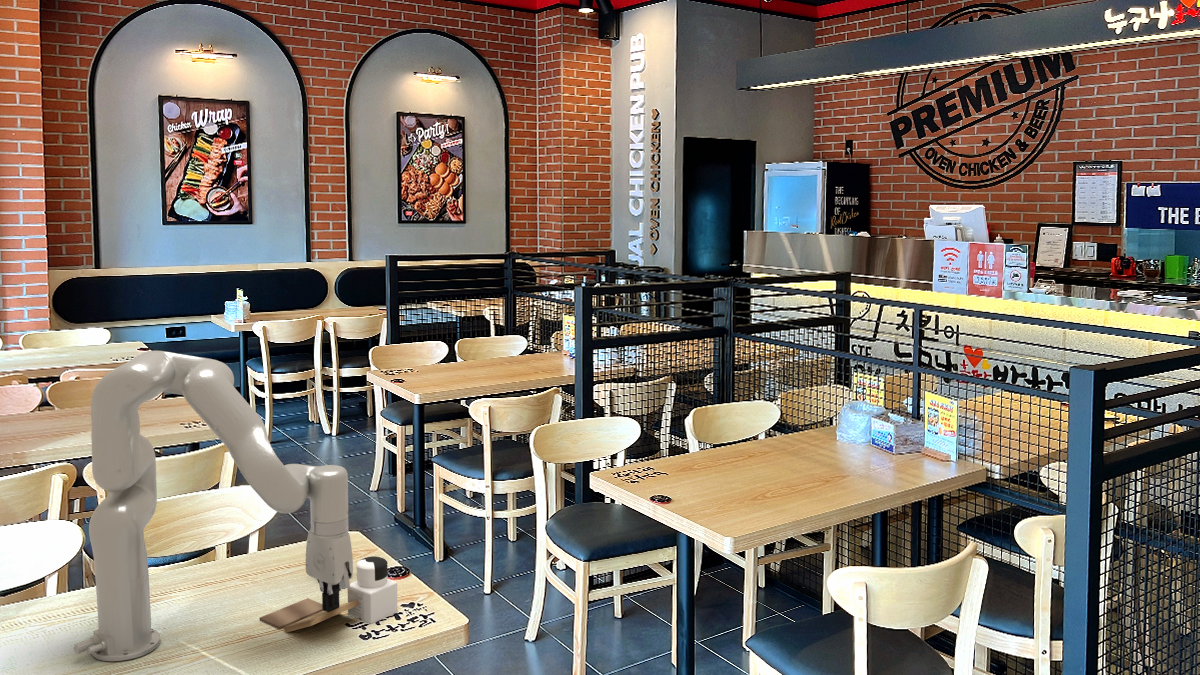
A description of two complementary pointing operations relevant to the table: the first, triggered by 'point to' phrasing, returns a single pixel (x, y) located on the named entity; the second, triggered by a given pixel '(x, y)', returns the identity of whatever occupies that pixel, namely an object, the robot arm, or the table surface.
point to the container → (372, 591)
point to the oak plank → (320, 617)
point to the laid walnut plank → (292, 613)
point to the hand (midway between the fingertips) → (331, 609)
